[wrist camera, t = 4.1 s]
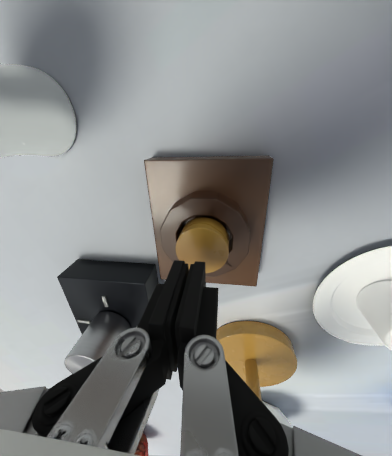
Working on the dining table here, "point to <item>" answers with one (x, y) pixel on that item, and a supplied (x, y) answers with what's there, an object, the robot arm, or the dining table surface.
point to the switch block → (211, 207)
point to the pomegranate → (142, 447)
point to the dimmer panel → (108, 289)
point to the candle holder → (358, 300)
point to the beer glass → (33, 113)
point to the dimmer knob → (95, 340)
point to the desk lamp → (257, 353)
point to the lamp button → (203, 243)
